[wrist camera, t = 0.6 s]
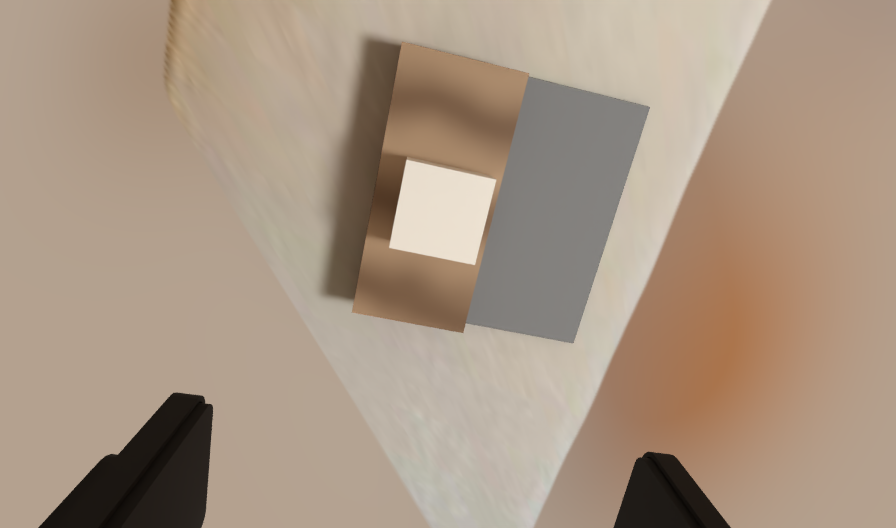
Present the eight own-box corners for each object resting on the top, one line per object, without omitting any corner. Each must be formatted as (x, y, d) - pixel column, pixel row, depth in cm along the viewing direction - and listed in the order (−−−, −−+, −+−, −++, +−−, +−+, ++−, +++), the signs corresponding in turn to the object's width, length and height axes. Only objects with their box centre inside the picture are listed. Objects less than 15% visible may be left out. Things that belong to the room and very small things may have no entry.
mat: (524, 76, 36) (526, 76, 35) (647, 107, 37) (649, 107, 36) (463, 320, 41) (463, 322, 40) (571, 340, 42) (573, 343, 41)
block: (407, 156, 34) (406, 159, 32) (492, 175, 35) (496, 179, 33) (390, 240, 36) (388, 247, 34) (472, 257, 37) (474, 265, 35)
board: (403, 46, 35) (402, 41, 32) (521, 75, 36) (529, 73, 33) (356, 300, 40) (352, 312, 37) (460, 319, 41) (463, 332, 38)
